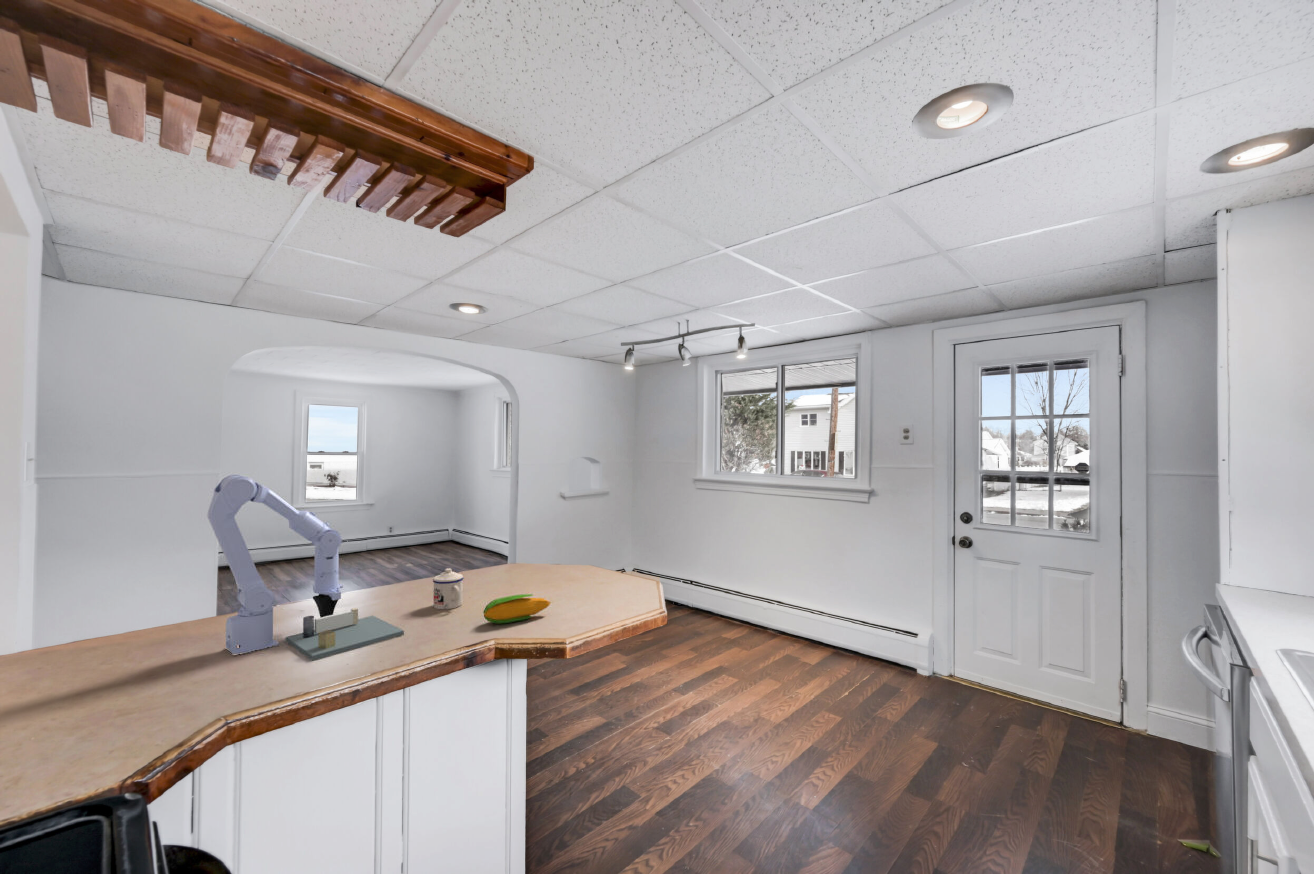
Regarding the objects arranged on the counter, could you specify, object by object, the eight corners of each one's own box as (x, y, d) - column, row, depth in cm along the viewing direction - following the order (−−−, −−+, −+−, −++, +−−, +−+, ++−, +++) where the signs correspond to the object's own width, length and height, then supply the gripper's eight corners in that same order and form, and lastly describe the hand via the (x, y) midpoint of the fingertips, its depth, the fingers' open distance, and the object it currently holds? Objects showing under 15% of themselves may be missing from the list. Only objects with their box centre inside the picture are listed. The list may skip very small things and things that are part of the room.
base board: (312, 660, 130) (312, 655, 130) (285, 641, 142) (285, 636, 142) (403, 634, 147) (403, 630, 147) (372, 619, 159) (372, 615, 159)
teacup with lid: (428, 605, 173) (428, 568, 173) (455, 599, 179) (456, 564, 179) (443, 614, 164) (443, 575, 164) (472, 607, 170) (472, 570, 170)
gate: (316, 633, 143) (316, 618, 143) (314, 632, 144) (314, 617, 144) (358, 623, 151) (358, 608, 151) (355, 621, 152) (355, 607, 152)
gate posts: (322, 649, 134) (322, 629, 133) (301, 636, 142) (301, 617, 142) (336, 646, 136) (336, 626, 136) (315, 632, 145) (315, 614, 145)
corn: (480, 595, 157) (545, 585, 168) (479, 621, 158) (544, 609, 169) (487, 604, 151) (554, 592, 162) (487, 631, 152) (554, 617, 163)
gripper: (353, 573, 149) (352, 622, 149) (332, 565, 158) (331, 611, 158) (324, 578, 143) (324, 629, 143) (304, 569, 153) (304, 617, 153)
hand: (326, 620), depth 150 cm, fingers closed
